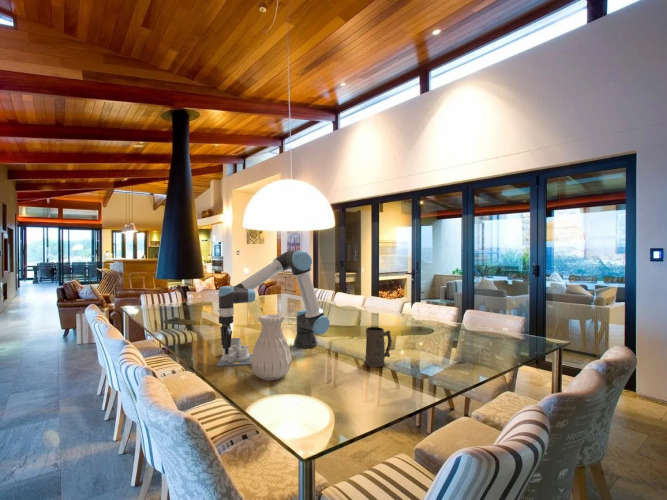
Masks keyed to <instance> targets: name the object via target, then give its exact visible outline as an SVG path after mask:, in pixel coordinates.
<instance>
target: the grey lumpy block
mask: <svg viewBox="0 0 667 500" xmlns="http://www.w3.org/2000/svg"><path fill="white" fill-rule="evenodd" d="M235 347H242V348H240V349H237V351H235V349H234V348H235ZM248 353H249V345H246V344H241V346H239V345H233V346H231V347H230V348H229V356H228V362H233V361H234V360H235V359H236V358H237V357H241V356H245V355H247V354H248Z"/></svg>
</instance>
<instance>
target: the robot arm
mask: <svg viewBox="0 0 667 500" xmlns="http://www.w3.org/2000/svg"><path fill="white" fill-rule="evenodd" d="M272 260H273V261H272V262H270V263H269V264H267V265H266V266H265V267H263V268H262V269H260V270H258V271H257V272H254V274H251V275H250V276H249V277H247V278H246V279H244V280H243V281H241V282H239V283H238V284H236V285H234V286H233V285H231V286H230V285H225V286H220V287H219V289H218V310H217V312H218V324H220V325H221V326H220V327H219V328H220V329H219V330H220V338H221V340H220V341H221V346H222V355H223V360H224V361H225V360H228V356H229V348H230V347H231V338H232V335H233V330H232V328H231V324H233V323H234V313H235V311H234V304H246V303H253V302H254V301H255V300H256V291H255V289H256V288H258V287H259V286H261V285H262V284H263V283H265V282H267V281H269V280H270V279H271V278H273V277H275V276H277V275H278V274H279V273H283V272H285V271H288V270H291V273H292V276H294V277H295V278H296V281H297V284H298V287H299V291H300V295H301V299H302V301H303V302H302V303H303V305H304V308H305V310H298V311H297V312H296V335H295V338H294V340H293V347H295V348H297V349H312V348H315V347H318V341H317V337H316V335H324V334H325V333H327V331H329V327H330V324H331V323H330V319H329V318H328V317H327V316H326V315H325V314H324V310H323V308H321V307H320V305H319V300H318V297H317V294H316V290H315V288H314V284H313V281H312V280H313V279H312V277H311V274H310V273H311V271H312V268H311V267H312V265H313V259H312V256H311V254H310V253H308V252H307V251H305V250H302V249H300V250H297V249H296V250H294V249H291V250H287V251H285V252H283V253H282V254H279V256H276V257H275V258H274V259H272Z"/></svg>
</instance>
